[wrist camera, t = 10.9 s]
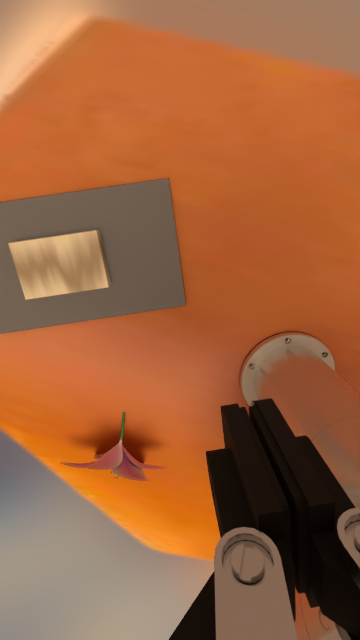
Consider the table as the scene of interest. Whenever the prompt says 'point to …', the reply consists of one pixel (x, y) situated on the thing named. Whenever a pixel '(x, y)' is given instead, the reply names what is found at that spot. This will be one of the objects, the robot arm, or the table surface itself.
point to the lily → (118, 462)
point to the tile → (61, 264)
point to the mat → (119, 246)
